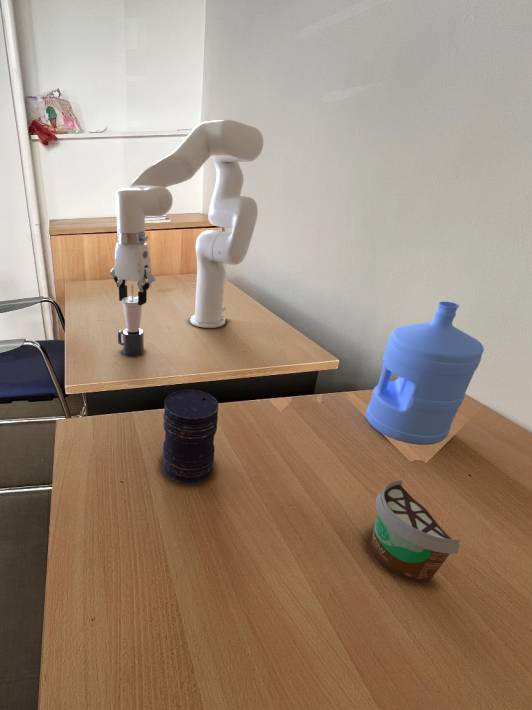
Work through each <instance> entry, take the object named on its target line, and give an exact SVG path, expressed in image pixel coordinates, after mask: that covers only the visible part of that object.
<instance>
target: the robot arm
mask: <svg viewBox="0 0 532 710" xmlns="http://www.w3.org/2000/svg"><path fill="white" fill-rule="evenodd" d="M263 148H264V137H263V134H262V132H261V131H260V129H258V128H257V127H255V126H252V125H248V124H245V123H242V122H239V121H237V120H232V119H218V120H208V121H203V122H200V123H198V124H196V126H195V127H193V129H192V130H191V131H190V132H189V134H188V135H187V136H186V137H185V138H184V139H183V140H182V141H181V143H179V145H178V146H177V147H176V148H175V149H174V151H172V152H171V153H170V154H168V155H167V156H165V157H163V158H161V159H160V160H158V161H157V162H155V163H153V164H152V165H150V166H148V167H147V168H146V169H144V170H143V171H142V172H141V173H139V174H138V176H137V177H136V178H135V179H134V180H133V181H132V183H130V184H129V186H128V187H126V188H125V187H124V188H120V189H118V190H117V191H116V194H115V207H116V233H117V235H116V236H117V242H116V243H115V250H114V266H113V268H112V269H111V270H110V272H109V274H110V275H111V277H112V278H113V281H114V283H116V288H118V301H119V302H122V299H123V298H125V297H128V285H127V281H130V282H135V283H136V284H137V287H138V290H139V291H138V292H137V296H138V305H142V306H143V305H145V304H147V299H148V296H147V295H148V294H147V293H148V290H149V288H151V287H152V286H153V284H154V283H155V282H156V280H157V279H156V277H155V275H154V274H153V273H152V264H151V254H150V249H149V245H148V243H146V242H147V241H148V239H149V236H148V235H146V229H145V228H146V217H162V216H164V215H166V214H168V212H169V211H170V210H171V209H172V207H173V204H174V203H173V202H174V199H173V195H172V193H171V191H170V190H169V189H168V187H171V186H175V185H179V184H181V183H184V182H187V181H188V180H190V179H192V178H193V177H195V175H196V174H197V172H198V171H199V170H200V169H201V168H202V167H203V166H204V164H205V163H206V162H207V161H208V160H209V159H210V158H211V160H212V162H213V164H214V168H215V173H216V180H215V185H214V189H213V193H212V197H211V201H210V205H209V209H208V214H207V218H208V222H209V223H210V225H213V226H215V227H219V228H225V229H231V232H230V231H224V230H223V231H222V230H217V229H208V230H205V231H202V232H201V233H200V234H199V235H198V236H197V238H196V241H195V255H196V265H197V266H196V284H195V285H196V287H195V304H194V305H195V306H194V314H193V315H192V316H191V317H190V319H189V322H190V324H192V325H193V326H196V327H199V328H205V329H215V328H220V327H223V326H224V325H225V324H226V318H225V317H224V316H223V312H225V311H226V309H227V308H226V306H225V305H223V304H224V293H225V281H226V270H225V266H224V264H226V265H234V266H236V265H239V264H241V263H242V262H244V260H245V258H246V256H247V254H248V251H249V248H250V245H251V242H252V238H253V234H254V230H255V228H256V223H257V220H258V213H259V212H258V211H259V210H258V204H257V202H256V200H255V199H254V198H252V197H250V196H246V195H245V196H244V195H241V194H242V190H243V186H244V174H243V171H242V168H241V166H240V162H241V163H242V162H243V163H248V162H253V161H255V160H256V159H258V158H259V156H260V155H261V153H262V151H263Z"/></svg>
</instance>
